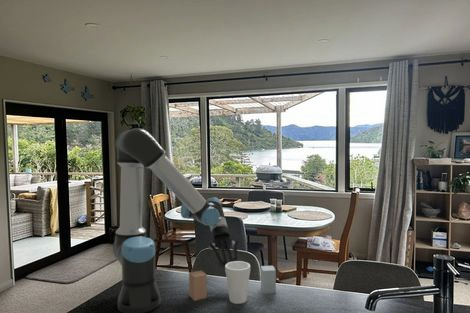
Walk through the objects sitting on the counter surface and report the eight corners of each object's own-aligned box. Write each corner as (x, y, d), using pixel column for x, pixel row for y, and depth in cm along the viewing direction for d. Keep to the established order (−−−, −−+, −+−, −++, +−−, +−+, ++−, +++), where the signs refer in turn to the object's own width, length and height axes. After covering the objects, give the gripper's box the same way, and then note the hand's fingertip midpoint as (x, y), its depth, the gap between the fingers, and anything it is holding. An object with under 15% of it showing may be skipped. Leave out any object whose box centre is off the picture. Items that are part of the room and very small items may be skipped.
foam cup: (238, 308, 116) (238, 272, 115) (220, 300, 122) (220, 265, 122) (255, 299, 123) (255, 265, 122) (237, 292, 129) (237, 259, 129)
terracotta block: (194, 300, 122) (194, 277, 122) (189, 295, 126) (189, 272, 126) (206, 297, 124) (206, 274, 124) (201, 292, 129) (200, 270, 128)
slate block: (263, 293, 128) (263, 270, 127) (260, 288, 132) (260, 266, 132) (275, 292, 128) (275, 270, 128) (273, 287, 133) (272, 265, 133)
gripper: (206, 226, 138) (219, 280, 123) (235, 223, 143) (251, 275, 128) (203, 235, 143) (215, 288, 128) (231, 232, 148) (245, 283, 133)
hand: (233, 281), depth 128 cm, fingers closed
